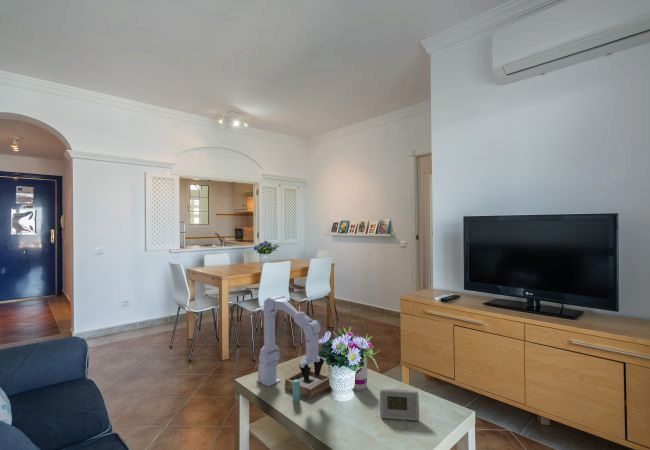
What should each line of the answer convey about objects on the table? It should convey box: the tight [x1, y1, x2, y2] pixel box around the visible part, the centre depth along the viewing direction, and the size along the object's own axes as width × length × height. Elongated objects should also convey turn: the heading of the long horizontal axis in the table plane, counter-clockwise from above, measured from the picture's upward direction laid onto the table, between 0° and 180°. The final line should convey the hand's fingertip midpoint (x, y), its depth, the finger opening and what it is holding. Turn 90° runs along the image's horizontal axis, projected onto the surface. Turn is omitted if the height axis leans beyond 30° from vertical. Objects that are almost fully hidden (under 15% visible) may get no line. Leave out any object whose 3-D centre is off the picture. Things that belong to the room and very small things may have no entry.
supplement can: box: [353, 357, 368, 391], centre depth 166 cm, size 8×8×15 cm
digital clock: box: [379, 388, 420, 421], centre depth 141 cm, size 16×9×11 cm, turn 72°
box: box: [284, 369, 330, 400], centre depth 165 cm, size 16×16×4 cm
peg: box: [292, 380, 301, 404], centre depth 153 cm, size 3×3×9 cm
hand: (311, 378), depth 153 cm, fingers open, 7 cm apart
